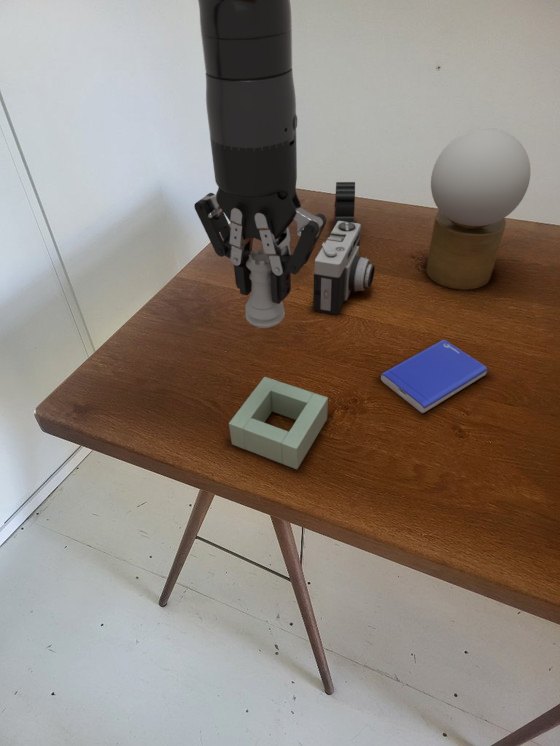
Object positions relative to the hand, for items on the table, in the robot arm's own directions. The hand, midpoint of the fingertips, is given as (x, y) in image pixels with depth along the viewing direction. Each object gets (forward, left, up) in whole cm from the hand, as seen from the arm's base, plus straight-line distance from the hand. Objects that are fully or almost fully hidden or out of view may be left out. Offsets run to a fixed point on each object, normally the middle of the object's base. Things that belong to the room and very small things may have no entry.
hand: (263, 294), depth 56 cm
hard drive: (+17, +16, -19) cm, 30 cm away
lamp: (+14, +43, -19) cm, 49 cm away
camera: (-2, +31, -19) cm, 36 cm away
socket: (+2, -2, -19) cm, 19 cm away
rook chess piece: (0, 0, -3) cm, 3 cm away
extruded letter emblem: (-10, +49, -19) cm, 53 cm away
